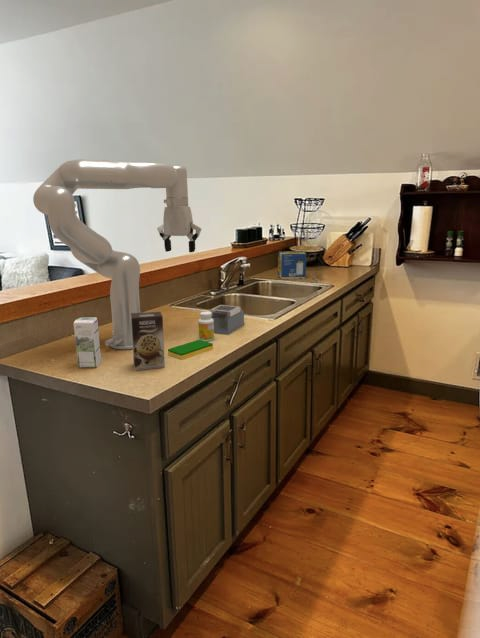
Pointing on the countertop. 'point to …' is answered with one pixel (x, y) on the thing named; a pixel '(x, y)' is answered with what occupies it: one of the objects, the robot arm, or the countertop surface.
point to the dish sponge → (190, 349)
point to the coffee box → (147, 340)
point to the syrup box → (87, 342)
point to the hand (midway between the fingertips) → (180, 251)
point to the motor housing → (227, 318)
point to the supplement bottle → (206, 326)
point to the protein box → (292, 264)
